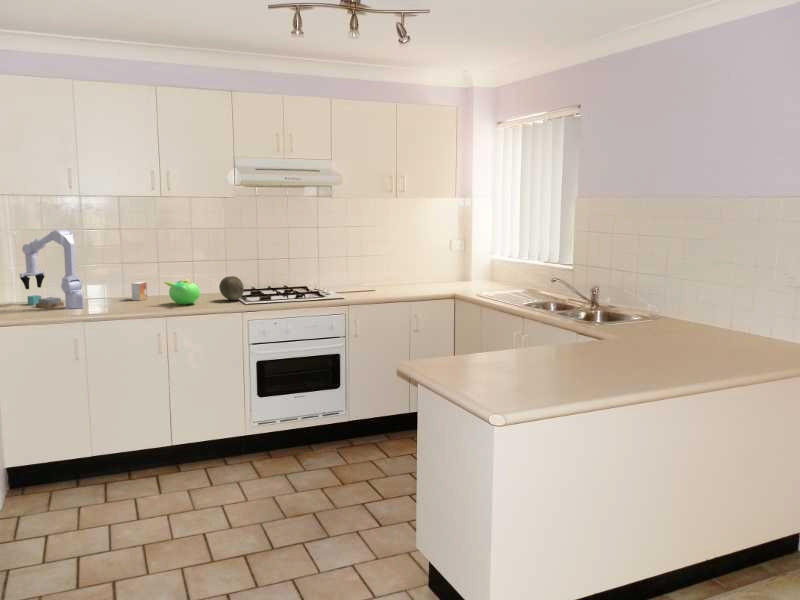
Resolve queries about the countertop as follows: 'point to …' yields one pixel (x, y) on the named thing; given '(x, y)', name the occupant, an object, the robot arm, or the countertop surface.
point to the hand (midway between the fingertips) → (33, 288)
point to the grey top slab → (50, 300)
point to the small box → (139, 291)
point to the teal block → (33, 299)
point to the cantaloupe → (231, 288)
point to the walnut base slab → (49, 305)
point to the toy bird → (183, 292)
